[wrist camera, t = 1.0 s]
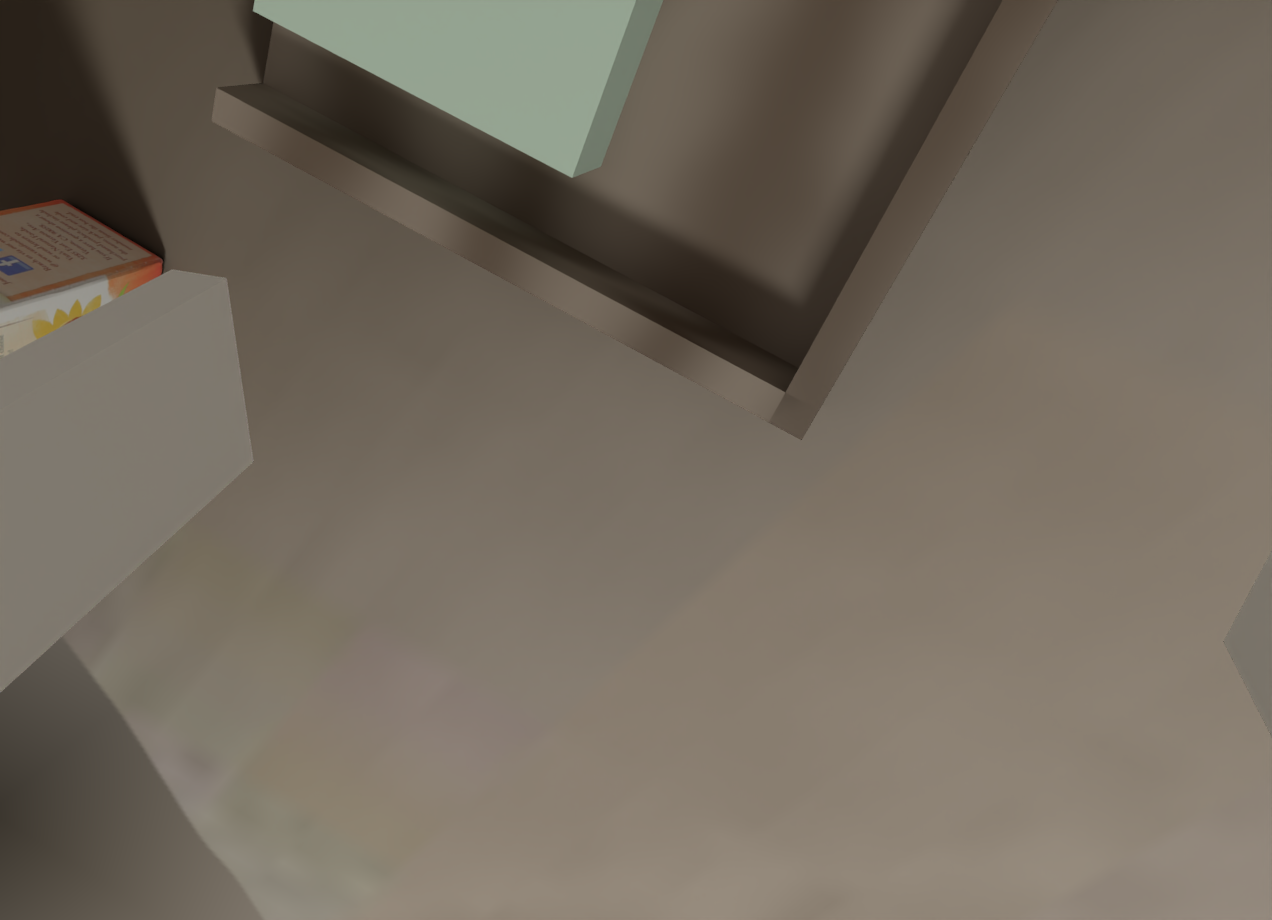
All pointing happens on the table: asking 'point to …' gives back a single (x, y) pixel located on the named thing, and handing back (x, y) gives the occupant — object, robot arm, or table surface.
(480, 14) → the cover plate
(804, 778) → the table surface
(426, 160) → the slide box
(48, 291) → the cracker box
